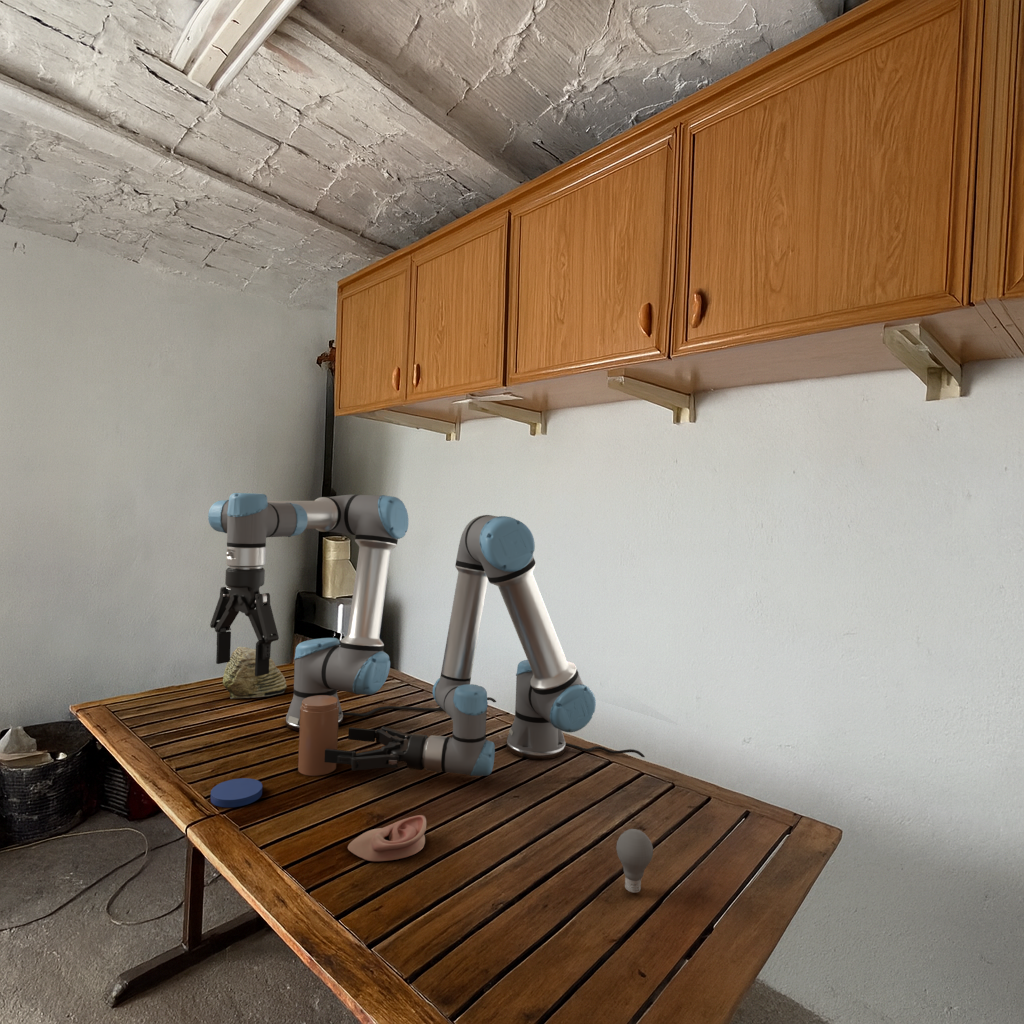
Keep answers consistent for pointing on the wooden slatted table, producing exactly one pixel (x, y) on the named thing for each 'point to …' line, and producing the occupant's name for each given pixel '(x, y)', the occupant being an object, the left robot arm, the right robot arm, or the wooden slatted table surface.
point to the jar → (317, 734)
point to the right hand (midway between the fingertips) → (337, 743)
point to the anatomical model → (391, 840)
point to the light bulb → (634, 857)
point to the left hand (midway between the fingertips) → (241, 668)
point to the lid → (236, 792)
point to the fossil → (251, 676)
